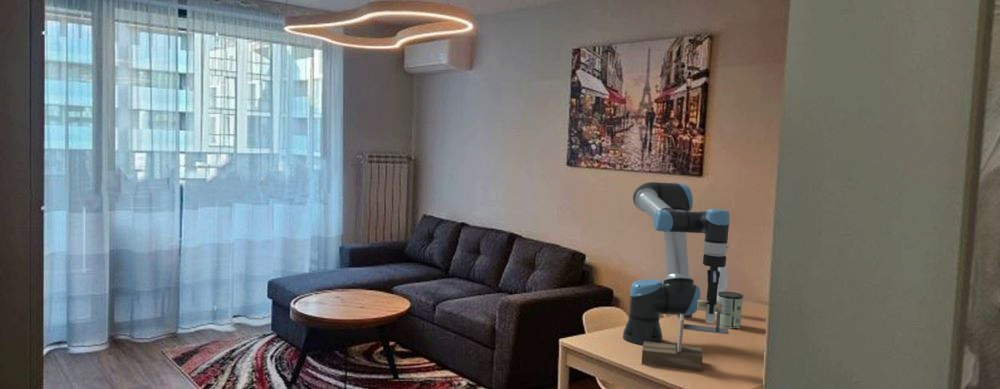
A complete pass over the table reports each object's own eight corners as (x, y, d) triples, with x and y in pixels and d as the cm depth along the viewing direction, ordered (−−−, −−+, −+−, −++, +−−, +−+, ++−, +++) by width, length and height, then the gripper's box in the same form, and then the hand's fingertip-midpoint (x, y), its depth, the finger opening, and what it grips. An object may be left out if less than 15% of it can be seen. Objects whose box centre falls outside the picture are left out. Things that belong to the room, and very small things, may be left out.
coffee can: (719, 321, 300) (721, 290, 299) (743, 325, 294) (745, 293, 293) (712, 325, 291) (715, 293, 290) (737, 330, 286) (740, 297, 285)
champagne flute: (707, 311, 319) (711, 261, 317) (721, 311, 319) (725, 261, 318) (713, 314, 312) (717, 263, 311) (727, 315, 313) (731, 264, 311)
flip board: (642, 354, 244) (643, 339, 244) (700, 361, 239) (701, 346, 239) (641, 364, 232) (642, 348, 232) (701, 371, 228) (702, 355, 227)
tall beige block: (727, 329, 234) (729, 301, 233) (728, 334, 228) (731, 305, 227) (682, 324, 237) (684, 297, 236) (683, 329, 231) (685, 300, 231)
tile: (680, 344, 239) (677, 344, 239) (683, 314, 238) (680, 314, 239) (681, 351, 230) (677, 351, 231) (684, 320, 230) (680, 320, 230)
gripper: (728, 258, 222) (723, 328, 223) (724, 252, 237) (719, 317, 239) (704, 256, 223) (699, 326, 225) (702, 250, 239) (697, 314, 241)
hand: (709, 321), depth 232 cm, fingers closed on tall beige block, 3 cm apart
